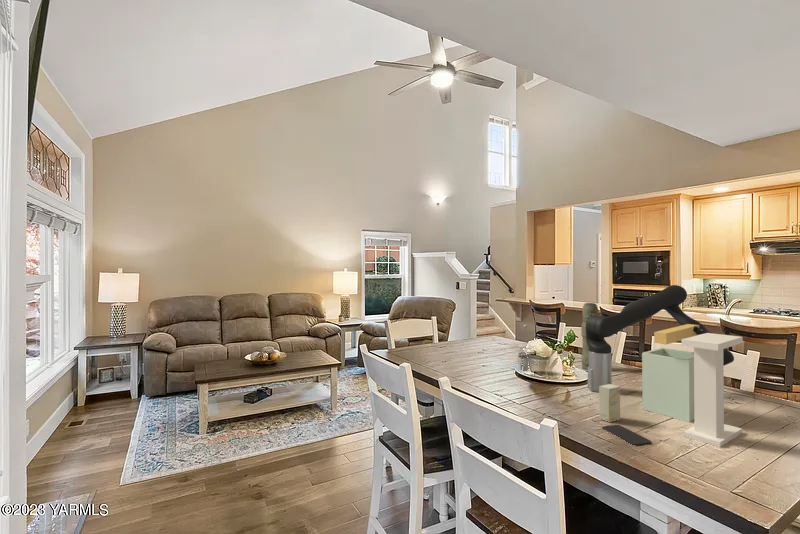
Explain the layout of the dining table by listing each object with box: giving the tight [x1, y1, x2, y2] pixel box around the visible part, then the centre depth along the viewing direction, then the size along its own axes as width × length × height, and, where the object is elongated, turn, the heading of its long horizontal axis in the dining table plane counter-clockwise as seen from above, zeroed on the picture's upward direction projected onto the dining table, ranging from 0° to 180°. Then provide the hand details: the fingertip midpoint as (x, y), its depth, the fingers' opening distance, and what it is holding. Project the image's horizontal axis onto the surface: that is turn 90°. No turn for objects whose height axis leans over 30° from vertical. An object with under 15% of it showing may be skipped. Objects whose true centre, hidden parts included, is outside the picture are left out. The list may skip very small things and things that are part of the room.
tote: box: [641, 347, 695, 423], centre depth 158 cm, size 16×16×22 cm
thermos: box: [580, 302, 599, 371], centre depth 221 cm, size 9×12×35 cm
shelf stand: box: [681, 332, 744, 448], centre depth 136 cm, size 20×10×32 cm, turn 123°
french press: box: [517, 324, 529, 371], centre depth 215 cm, size 10×12×25 cm
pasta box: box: [653, 324, 699, 345], centre depth 159 cm, size 28×4×4 cm, turn 124°
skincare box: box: [598, 384, 621, 423], centre depth 151 cm, size 6×4×12 cm
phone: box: [601, 424, 652, 446], centre depth 137 cm, size 7×1×15 cm
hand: (688, 327), depth 164 cm, fingers closed on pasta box, 4 cm apart
